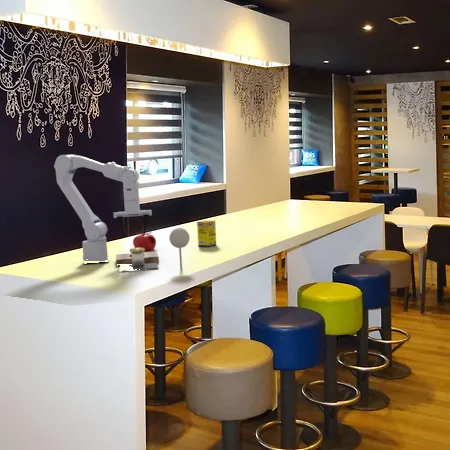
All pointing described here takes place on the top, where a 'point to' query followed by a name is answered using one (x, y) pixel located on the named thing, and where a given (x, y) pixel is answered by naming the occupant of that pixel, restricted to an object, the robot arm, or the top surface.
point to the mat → (147, 266)
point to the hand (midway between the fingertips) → (134, 234)
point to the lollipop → (179, 240)
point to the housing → (127, 258)
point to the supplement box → (206, 233)
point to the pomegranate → (144, 241)
